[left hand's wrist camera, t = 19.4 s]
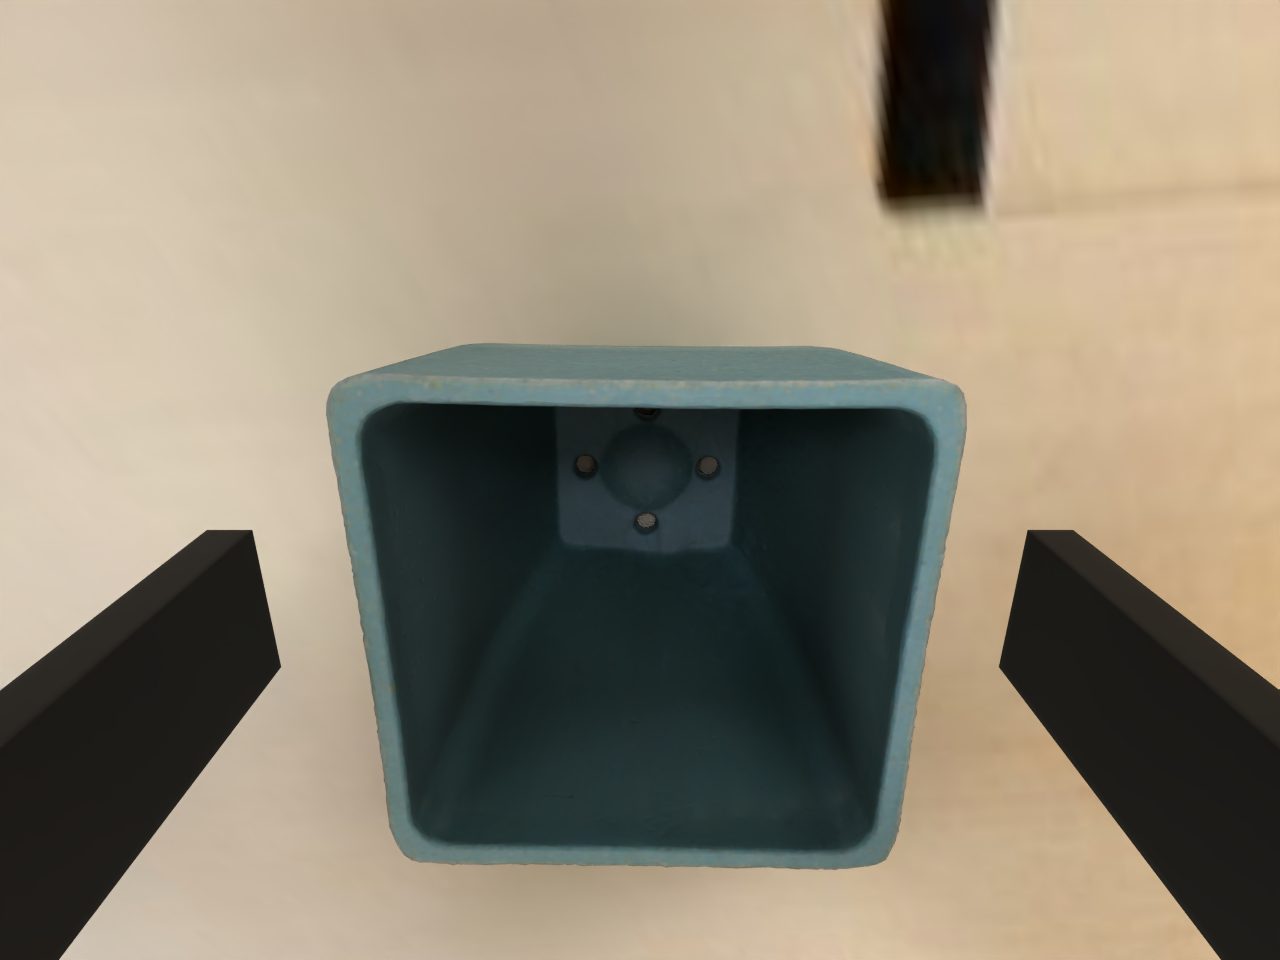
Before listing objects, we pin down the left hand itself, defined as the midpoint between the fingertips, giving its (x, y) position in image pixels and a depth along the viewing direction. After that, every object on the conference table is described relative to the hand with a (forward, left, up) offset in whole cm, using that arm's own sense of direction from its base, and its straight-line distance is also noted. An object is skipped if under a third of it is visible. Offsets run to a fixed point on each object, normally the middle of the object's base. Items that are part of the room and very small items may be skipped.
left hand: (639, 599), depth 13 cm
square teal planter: (0, 0, -7) cm, 7 cm away
